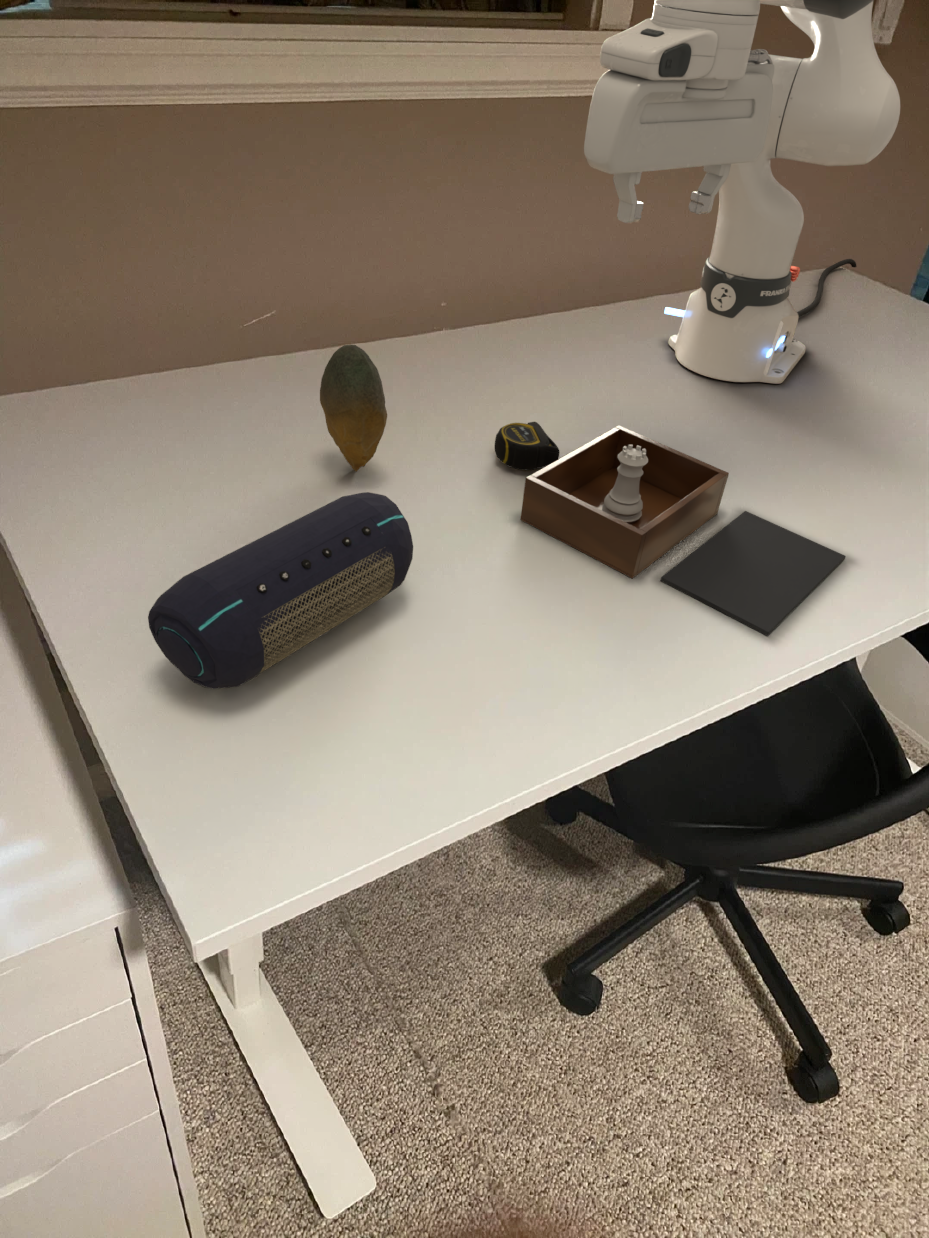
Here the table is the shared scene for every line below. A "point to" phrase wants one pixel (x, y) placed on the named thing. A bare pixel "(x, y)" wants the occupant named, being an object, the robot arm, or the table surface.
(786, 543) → the mat
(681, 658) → the table surface
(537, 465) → the tape measure
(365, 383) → the green and yellow papaya
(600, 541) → the open wooden box
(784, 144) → the robot arm
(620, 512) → the rook chess piece
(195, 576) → the portable speaker
